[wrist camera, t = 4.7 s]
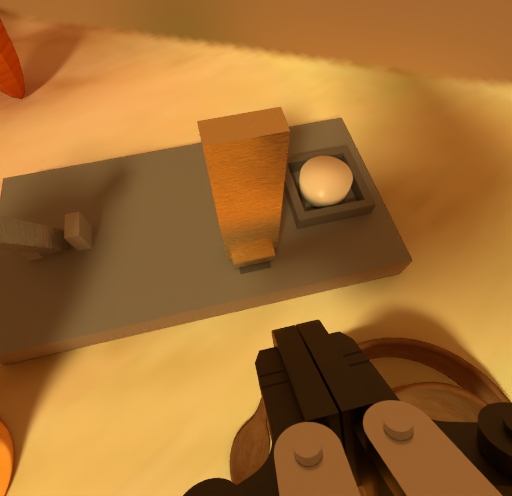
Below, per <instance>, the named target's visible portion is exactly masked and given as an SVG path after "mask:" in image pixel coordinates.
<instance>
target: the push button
mask: <svg viewBox="0 0 512 496" xmlns="http://www.w3.org/2000/svg"><path fill="white" fill-rule="evenodd" d="M352 182H353V175H352V172H351V170H350V168H349V167H348V165H347V164H346V163H344V162H343V161H341V160H340V159H338V158H335V157H332V156H317V157H314V158H311V159H309V160H308V161H307V162H306V163H305V164H304V165H303V166H302V168H301V171H300V177H299V183H298V190H299V193H300V196H301V197H302V198H303V200H304V201H305V202H307V203H308V204H310V205H312V206H314V207H317V208H326V207H331V206H335V205H340V204H341V203H342V202H343V201H344V200H345V199H346V197H347V195H348V192H349V190H350V187H351V185H352Z"/></svg>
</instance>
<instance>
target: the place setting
mask: <svg viewBox="0 0 512 496" xmlns="http://www.w3.org/2000/svg"><path fill="white" fill-rule="evenodd" d="M357 345H358V346H359V348H360V349H361V350H362V353H364V354H365V355H366V357H367V358H368V359H374V358H381V357H396V358H404V359H409V360H413V361H417V362H420V363H422V364H425V365H427V366H430V367H432V368H434V369H436V370H438V371H440V372H441V373H443V374H445V375H446V376H448V377H449V378H451V379H452V380H453V381H455V382H456V383H457V384H458V385H460V386H461V387H462V388H463V389H462V388H460V387H457V386H454V385H450V384H446V383H439V382H421V383H414V384H409V385H404V386H400V387H397V388H394V389H392V391H393V392H394V393H395V394H396V396H397V397H398V398H399V400H400V401H402V402H405V403H408V404H411V405H413V406H415V407H417V408H419V409H420V410H421V411H423V412H424V413H425V414H426V415H427V416H428V417H429V418H430V419H433V420H438V421H448V422H478V414H479V412H480V410H481V409H482V408H483V407H485V406H486V405H489V404H492V403H497V402H508V403H511V402H510V401H509V400H508V398H507V397H506V396H505V395H504V394H503V392H502V391H501V390H500V389H499V388H498V387H497V386H496V385H495V384H494V383H493V382H492V381H491V380H490V379H489V378H488V377H487V376H485V375H484V374H483V373H482V372H480V371H479V370H478V369H477V368H475V367H474V366H473V365H471V364H470V363H468V362H467V361H465V360H464V359H462V358H461V357H459V356H457V355H455V354H453V353H451V352H449V351H447V350H445V349H443V348H440V347H438V346H435V345H433V344H430V343H426V342H422V341H418V340H413V339H405V338H382V339H375V340H370V341H367V342H363V343H360V344H357ZM269 449H270V441H269V433H268V428H267V422H266V413H265V409H264V404H263V400H262V398H261V401H260V404H259V407H258V409H257V411H256V413H255V415H254V416H253V418H252V419H251V420H250V421H249V422H247V423H246V424H245V425H244V426H243V428H242V429H241V430H240V431H239V433H238V435H237V436H236V438H235V440H234V442H233V445H232V448H231V453H230V474H231V480H232V482H233V483H235V484H236V485H238V484H239V483H241V482H242V481H244V480H245V479H247V478H248V477H250V476H251V475H253V474H254V473H255V472H256V471H258V470H259V469H260V468H261V467H262V465H263V464H264V463H265V461H266V460H267V458H268V456H269ZM358 490H359V493H360V495H361V496H367V495H366V493H365V491H364V488H363V486H360V487H358Z"/></svg>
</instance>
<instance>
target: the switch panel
mask: <svg viewBox="0 0 512 496" xmlns="http://www.w3.org/2000/svg"><path fill="white" fill-rule="evenodd" d="M289 130H290V136H289V145H288V154H287V163H286V173H285V182H284V191H283V201H282V210H281V219H280V228H279V238H278V247H277V250H274V252H275V260H271V261H266V262H261V263H257V264H252V265H248V266H243V267H239V268H234V266H233V262H232V259H230V260H227V259H226V254H225V250H224V245H223V240H222V236H221V231H220V226H219V221H218V217H217V212H216V207H215V203H214V198H213V193H212V188H211V184H210V179H209V174H208V170H207V165H206V160H205V156H204V151H203V146H202V143H198V144H192V145H187V146H181V147H176V148H170V149H164V150H159V151H153V152H148V153H142V154H137V155H131V156H125V157H120V158H114V159H109V160H103V161H98V162H92V163H87V164H81V165H75V166H70V167H64V168H59V169H53V170H48V171H42V172H36V173H31V174H25V175H20V176H14V177H9V178H3V184H2V191H1V198H0V215H1V216H6V217H10V218H14V219H19V220H23V221H27V222H32V223H36V224H40V225H45V226H49V227H54V228H58V229H62V230H64V239H66V240H67V241H68V242H69V245H70V250H69V251H64V252H59V253H54V254H36V253H23V252H9V251H0V364H1V365H7V364H12V363H16V362H20V361H24V360H29V359H33V358H37V357H42V356H46V355H50V354H55V353H59V352H63V351H68V350H72V349H76V348H81V347H85V346H89V345H94V344H98V343H102V342H107V341H111V340H115V339H120V338H124V337H128V336H133V335H137V334H141V333H146V332H150V331H154V330H159V329H163V328H167V327H172V326H176V325H180V324H185V323H189V322H193V321H197V320H202V319H206V318H210V317H215V316H219V315H223V314H228V313H232V312H236V311H241V310H245V309H249V308H254V307H258V306H262V305H267V304H271V303H275V302H280V301H284V300H288V299H293V298H297V297H301V296H306V295H310V294H314V293H319V292H323V291H327V290H332V289H336V288H340V287H345V286H349V285H353V284H357V283H362V282H366V281H370V280H375V279H379V278H383V277H388V276H392V275H396V274H400V273H401V272H402V271H403V270H404V269H405V268H406V267H407V266H408V265H409V264H410V263H411V262H412V259H411V257H410V255H409V253H408V251H407V249H406V247H405V245H404V243H403V241H402V239H401V237H400V235H399V233H398V231H397V229H396V227H395V225H394V223H393V221H392V219H391V217H390V214H389V212H388V210H387V208H386V206H385V204H384V202H383V200H382V198H381V196H380V194H379V192H378V190H377V188H376V186H375V184H374V182H373V180H372V178H371V176H370V174H369V172H368V170H367V168H366V166H365V164H364V162H363V160H362V158H361V156H360V154H359V152H358V150H357V148H356V146H355V144H354V142H353V140H352V138H351V136H350V134H349V132H348V130H347V128H346V126H345V124H344V122H343V120H342V118H337V119H331V120H326V121H320V122H315V123H309V124H304V125H298V126H292V127H289ZM317 156H332V157H335V158H338V159H340V160H341V161H343V162H344V163H346V164H347V165H348V167H349V168H350V170H351V172H352V175H353V182H352V185H351V187H350V190H349V192H348V195H347V197H346V199H345V200H344V201H343V202H342V203H341V204H340V205H335V206H331V207H326V208H317V207H314V206H312V205H310V204H308V203H307V202H305V201H304V200H303V198H302V197H301V196H300V193H299V190H298V183H299V177H300V171H301V168H302V166H303V165H304V164H305V163H306V162H307V161H308V160H309V159H311V158H314V157H317Z"/></svg>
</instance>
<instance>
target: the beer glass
mask: <svg viewBox="0 0 512 496" xmlns="http://www.w3.org/2000/svg"><path fill="white" fill-rule="evenodd" d="M13 464H14V449H13V443H12V439H11V436H10V434H9V431H8V430H7V428H6V426H5V425H4V424H3V423H2V422H1V421H0V496H5V493H6V491H7V489H8V486H9V483H10V480H11V476H12V471H13Z"/></svg>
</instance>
